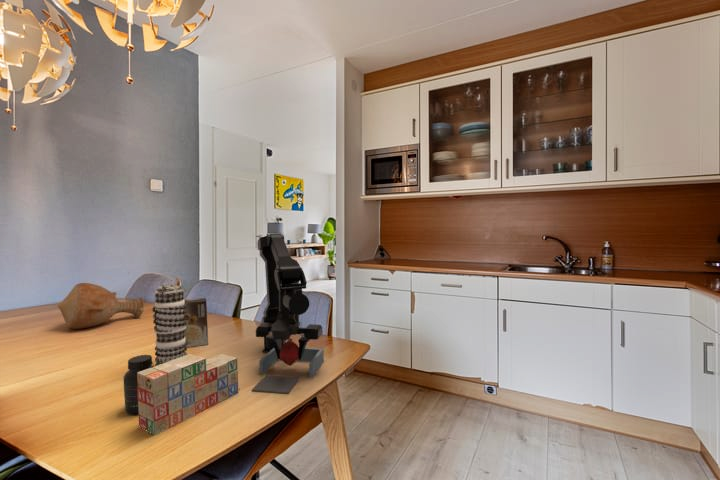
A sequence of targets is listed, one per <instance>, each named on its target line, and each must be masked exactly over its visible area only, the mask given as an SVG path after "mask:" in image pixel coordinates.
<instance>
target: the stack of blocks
mask: <svg viewBox="0 0 720 480" xmlns="http://www.w3.org/2000/svg"><path fill="white" fill-rule="evenodd" d="M137 380H138V387H137V397H138V409H139V414H138V427H139V426H140V427H141V428H140V427H139V428H140V429H142V428H143V429H145V430H147V431H149V432H151V433H152V434H151V433H150V434H151V435H153V434H154V435H155V436H157V435H159V434H161V433H163V432H165V431H167V430H169V429H172V428H173V427H175V426H177V425H179V424H181V423H183V422H186V421H187V420H189V419H190V418H193V417H195V416H196V415H198V414H200V413H201V412H203V411H206V410H208V409H209V408H212V407H213V406H215V405H217V404H219V403H221V402H222V401H223V402H224V401H225V400H226V399H229V398H230V397H233V396H235V395H236V394H238V393H239V369H238V358H237V357H234V356H231V355H228V354H227V355H226V354H223V353H221V354H217V355H215V356H212V357H210V358H205V357H201V356H199V355H196V354H195V355H194V354H191V353H187V355H185V356H182V357H180V358H177V359H174V360H171V361H168V362H166V363H163V364H160V365H158V366H154V367H152V368H149V369H146V370H143V371H140V372H138V373H137ZM171 427H172V428H171ZM168 428H169V429H168ZM143 429H142V430H143ZM166 429H167V430H166ZM145 430H144V431H145ZM164 430H165V431H164ZM147 431H146V432H147ZM162 431H163V432H162ZM149 432H148V433H149ZM160 432H161V433H160ZM158 433H159V434H158ZM156 434H157V435H156ZM154 435H153V436H154Z"/></svg>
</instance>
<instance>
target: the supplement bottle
mask: <svg viewBox="0 0 720 480" xmlns="http://www.w3.org/2000/svg"><path fill="white" fill-rule="evenodd" d="M153 363H154V362H153V356H152V355H150V354H141V355H136V356H133V357H130V358H129V359H128V360H127V371H126V372H125V373H124V375H123V394H124V395H123V396H124V410H125V412H126V414H128V415H132V416H136V415H137V416H138V415H139V409H138V397H137V387H138V380H137V373H138V372H140V371H143V370H146V369H149V368H152V367H155V366H154V365H153Z"/></svg>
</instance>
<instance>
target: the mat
mask: <svg viewBox="0 0 720 480" xmlns="http://www.w3.org/2000/svg"><path fill="white" fill-rule="evenodd" d="M300 378H301V377H300V376H289V375H287V376H286V375H273V374H272V375H271V374H266V375H264V376H263V378H261V380H260V381H259V382H257V384H256V385H255V386H253V388H251V392H257V393H271V394H283V395H285V394H286V395H289V394H290V392H292V390H293V388H294V387H295V386H296V385H297V383H298V382H299V380H300Z"/></svg>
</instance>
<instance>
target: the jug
mask: <svg viewBox="0 0 720 480" xmlns="http://www.w3.org/2000/svg"><path fill="white" fill-rule="evenodd" d="M116 296H117V292H115V291H113V292H112V291H110V290H108V289H107V288H105V287H104V286H100V285H97V284H94V283H89V282H79V283H76V284H75V285H74V286H73V288H71V290H70V292H68V294H67V295H66V297H64V299H63V300H61V301H60V302H59V303H58V305H57V308H58V310H60V312H61V315H62V317H63V320H64V323H65V325H66V327H68V328H69V329H71V330H72V329H73V330H75V329H80V330H81V329H87V328H92V327H96V326H99V325H101V324H103V323H105V322H108V321H109V320H110V319H112V317H114V316H115V315H116V314H120V313H127V314H131V315H133V316H134V317H135V319H139V318H140V317H141V316H142V315H143V312H144V309H145V308H144V307H145V301H144V298H143V297H138V298H137V299H136V300H135V301H128V302H124V301H119V300H118V299H117V297H116Z"/></svg>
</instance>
